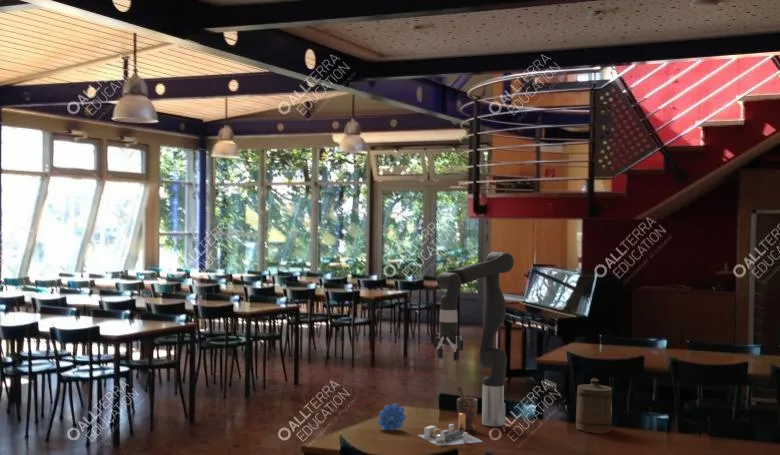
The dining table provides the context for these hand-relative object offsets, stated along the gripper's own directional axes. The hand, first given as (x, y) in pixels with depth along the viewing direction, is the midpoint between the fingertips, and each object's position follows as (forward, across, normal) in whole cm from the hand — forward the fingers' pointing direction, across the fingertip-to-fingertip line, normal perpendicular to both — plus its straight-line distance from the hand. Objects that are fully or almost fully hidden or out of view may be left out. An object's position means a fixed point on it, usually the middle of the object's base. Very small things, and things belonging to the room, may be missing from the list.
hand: (448, 359), depth 328 cm
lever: (+28, -12, +12) cm, 33 cm away
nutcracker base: (+30, -10, +10) cm, 34 cm away
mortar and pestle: (+30, -4, -8) cm, 32 cm away
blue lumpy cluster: (+30, +16, +17) cm, 38 cm away
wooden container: (+31, -37, -53) cm, 72 cm away
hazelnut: (+29, -7, +15) cm, 33 cm away
